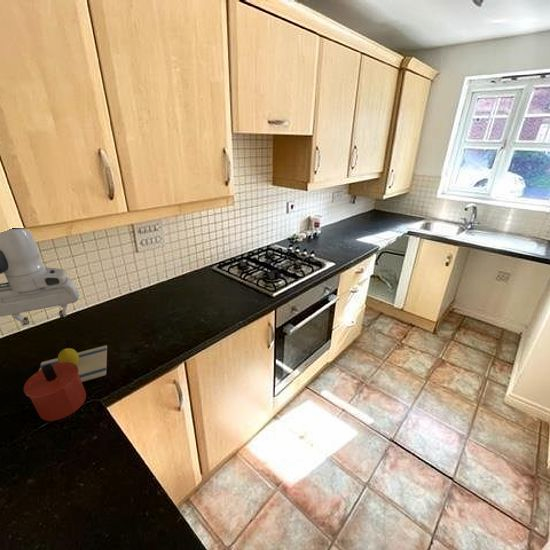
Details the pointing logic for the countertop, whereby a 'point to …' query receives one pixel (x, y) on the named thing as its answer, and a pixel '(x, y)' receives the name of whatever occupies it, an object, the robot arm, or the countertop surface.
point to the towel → (88, 363)
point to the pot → (61, 402)
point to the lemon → (68, 356)
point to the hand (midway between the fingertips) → (45, 320)
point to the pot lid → (50, 379)
